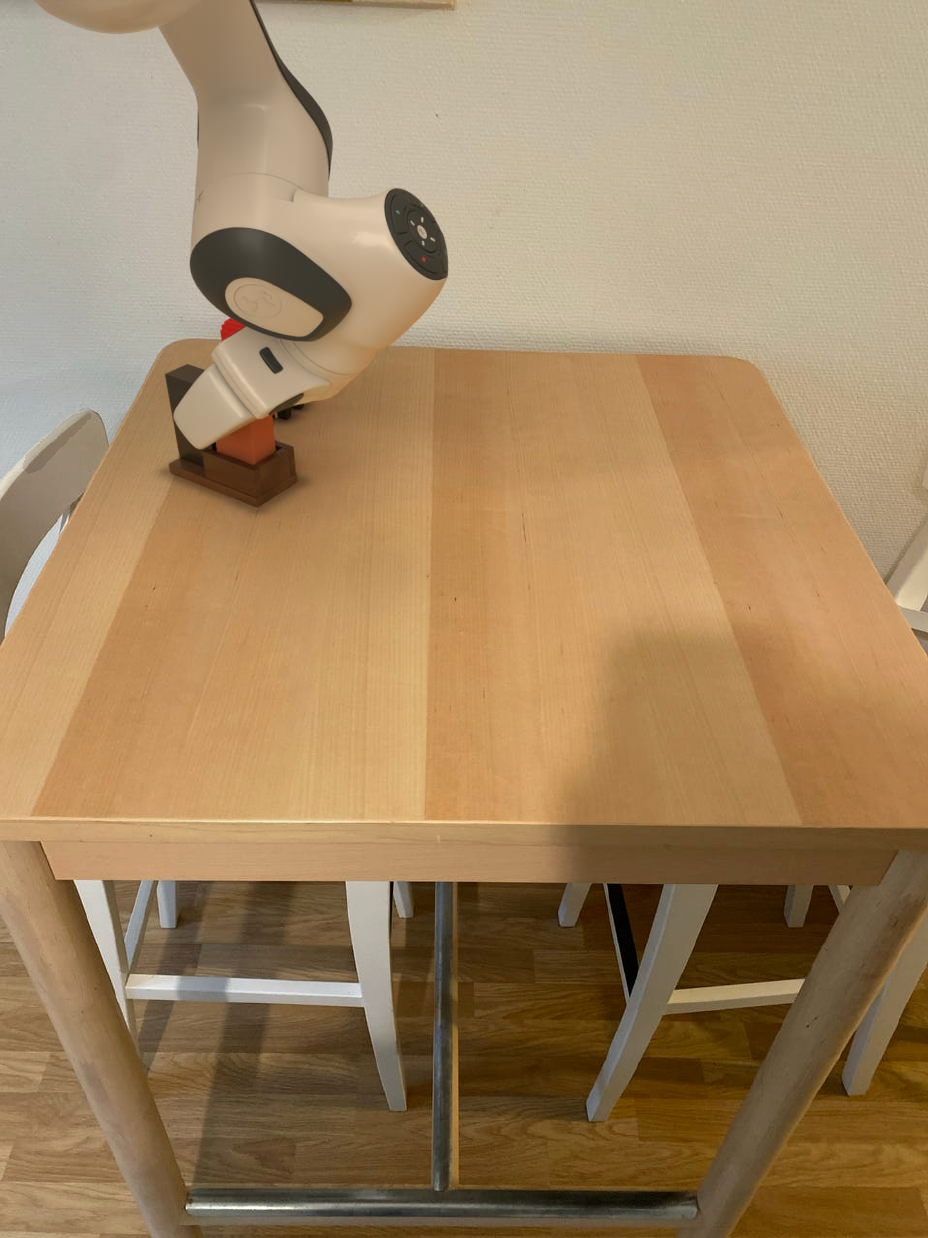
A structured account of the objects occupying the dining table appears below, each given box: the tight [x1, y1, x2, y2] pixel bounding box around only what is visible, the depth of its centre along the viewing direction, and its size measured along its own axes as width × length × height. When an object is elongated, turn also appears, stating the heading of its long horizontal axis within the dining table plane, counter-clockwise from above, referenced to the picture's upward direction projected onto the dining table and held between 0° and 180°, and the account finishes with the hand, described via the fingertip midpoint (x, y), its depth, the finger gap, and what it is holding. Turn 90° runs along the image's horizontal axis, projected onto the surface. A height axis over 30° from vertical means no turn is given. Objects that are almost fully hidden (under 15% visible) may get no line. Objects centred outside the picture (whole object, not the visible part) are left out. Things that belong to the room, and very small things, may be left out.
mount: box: [164, 363, 298, 508], centre depth 88 cm, size 6×12×10 cm, turn 58°
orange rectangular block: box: [216, 415, 276, 465], centre depth 86 cm, size 3×5×9 cm, turn 58°
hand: (237, 418), depth 86 cm, fingers closed on orange rectangular block, 3 cm apart
